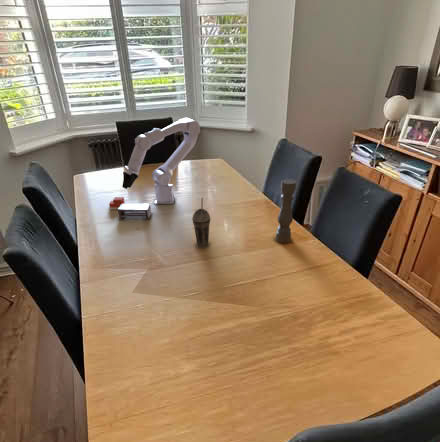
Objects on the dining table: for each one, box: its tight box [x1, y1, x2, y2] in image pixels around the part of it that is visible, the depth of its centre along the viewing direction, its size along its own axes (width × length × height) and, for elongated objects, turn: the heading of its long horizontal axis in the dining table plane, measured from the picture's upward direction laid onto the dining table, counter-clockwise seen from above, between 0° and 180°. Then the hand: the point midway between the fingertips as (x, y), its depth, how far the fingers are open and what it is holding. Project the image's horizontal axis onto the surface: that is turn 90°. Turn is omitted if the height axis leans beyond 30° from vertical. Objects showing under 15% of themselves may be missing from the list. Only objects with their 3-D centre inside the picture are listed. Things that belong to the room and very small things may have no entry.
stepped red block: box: [108, 196, 126, 210], centre depth 181 cm, size 7×4×5 cm, turn 88°
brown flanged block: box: [117, 203, 152, 220], centre depth 172 cm, size 14×7×5 cm, turn 88°
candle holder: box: [275, 178, 297, 244], centre depth 145 cm, size 6×6×25 cm
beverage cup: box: [192, 197, 211, 249], centre depth 144 cm, size 7×7×20 cm
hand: (126, 187), depth 176 cm, fingers open, 7 cm apart
